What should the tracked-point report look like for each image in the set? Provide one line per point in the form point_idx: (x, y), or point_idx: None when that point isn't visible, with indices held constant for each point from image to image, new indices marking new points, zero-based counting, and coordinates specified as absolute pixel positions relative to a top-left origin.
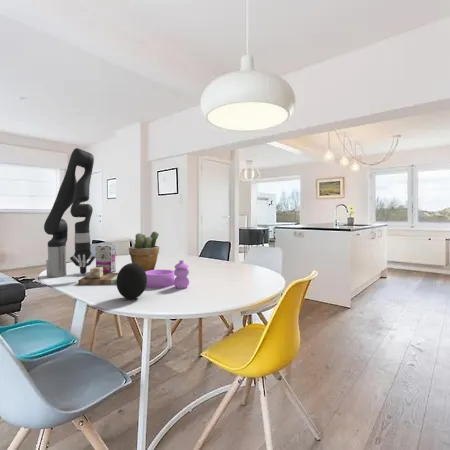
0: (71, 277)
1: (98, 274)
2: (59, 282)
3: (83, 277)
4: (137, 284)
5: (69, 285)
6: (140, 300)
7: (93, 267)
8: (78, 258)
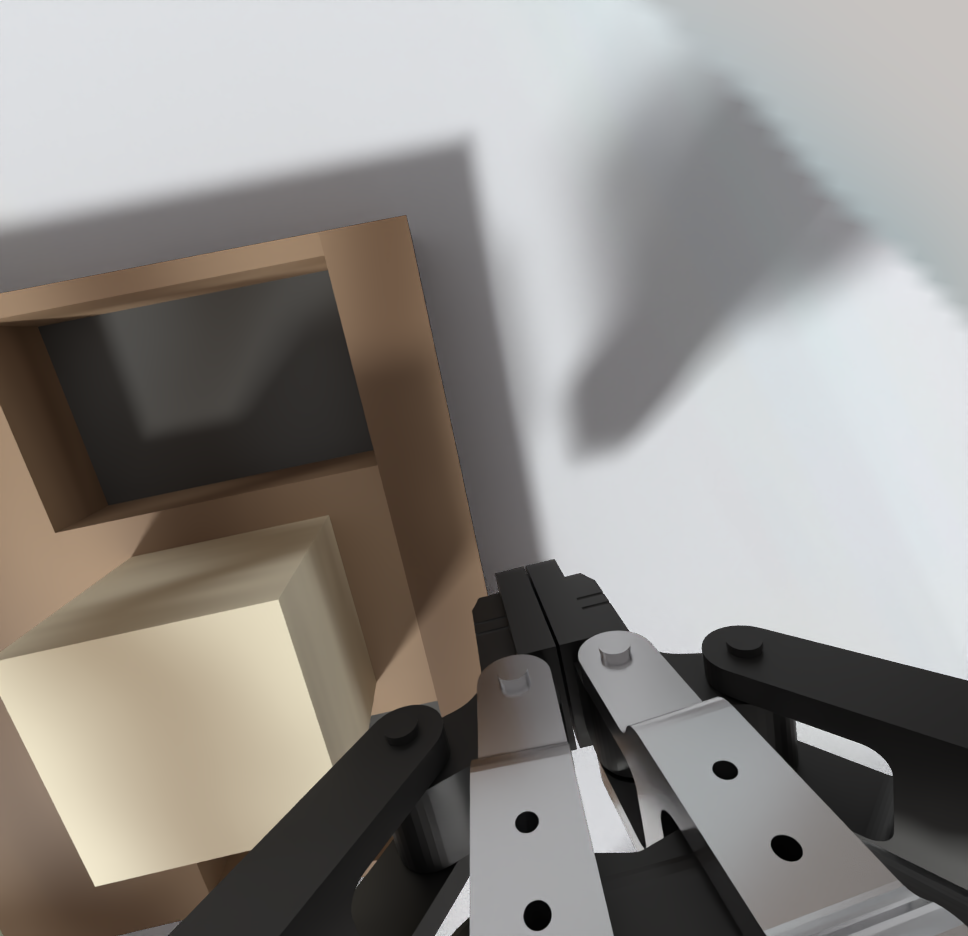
0: (833, 736)
1: (130, 577)
2: (850, 400)
3: (461, 487)
4: None
5: (561, 195)
6: None
7: None
8: (869, 862)
